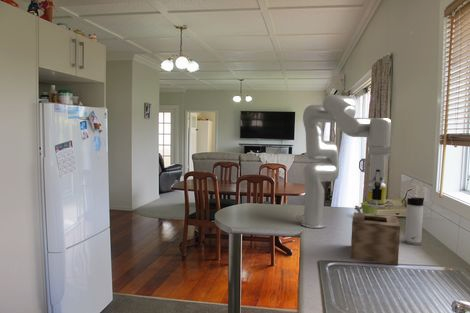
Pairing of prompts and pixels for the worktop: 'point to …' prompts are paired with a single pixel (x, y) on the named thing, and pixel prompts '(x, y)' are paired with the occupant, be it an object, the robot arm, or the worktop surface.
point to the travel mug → (414, 221)
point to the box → (375, 238)
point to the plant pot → (368, 208)
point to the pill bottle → (376, 202)
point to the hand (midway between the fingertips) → (376, 197)
